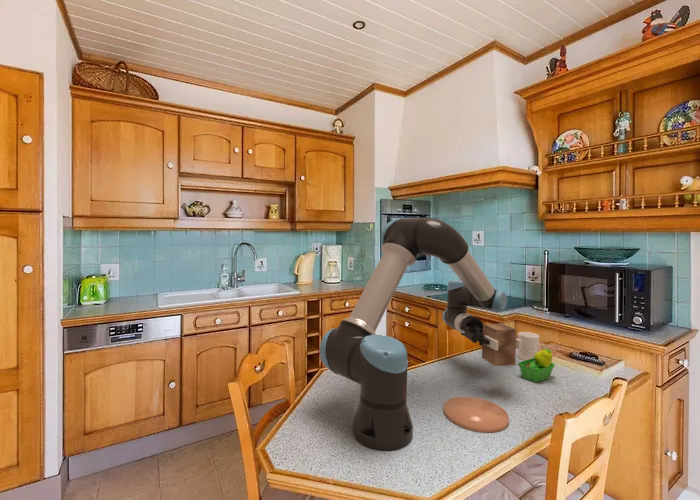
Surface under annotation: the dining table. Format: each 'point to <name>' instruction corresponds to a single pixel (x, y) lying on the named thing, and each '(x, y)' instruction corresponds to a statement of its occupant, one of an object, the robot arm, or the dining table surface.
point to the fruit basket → (537, 366)
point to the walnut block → (500, 344)
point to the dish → (476, 414)
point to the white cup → (528, 345)
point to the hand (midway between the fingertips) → (508, 345)
